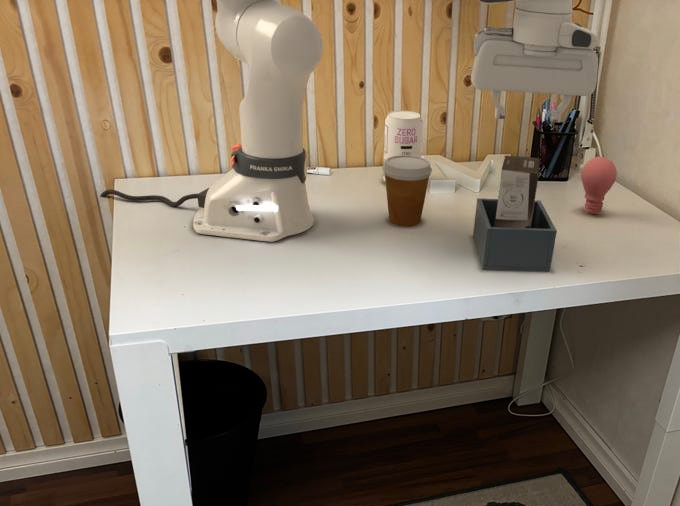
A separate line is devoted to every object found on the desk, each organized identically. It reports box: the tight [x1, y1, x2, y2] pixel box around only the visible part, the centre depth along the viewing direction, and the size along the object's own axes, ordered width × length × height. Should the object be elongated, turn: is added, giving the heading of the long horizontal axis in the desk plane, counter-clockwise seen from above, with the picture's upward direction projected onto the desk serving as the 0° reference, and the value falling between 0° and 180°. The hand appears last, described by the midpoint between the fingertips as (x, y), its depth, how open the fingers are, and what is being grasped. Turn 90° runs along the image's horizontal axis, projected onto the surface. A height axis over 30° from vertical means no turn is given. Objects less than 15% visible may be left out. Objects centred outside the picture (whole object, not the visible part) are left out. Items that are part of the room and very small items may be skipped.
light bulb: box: [580, 156, 618, 215], centre depth 152 cm, size 7×7×12 cm
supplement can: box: [382, 110, 424, 183], centre depth 161 cm, size 8×8×15 cm
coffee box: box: [494, 155, 541, 228], centre depth 131 cm, size 9×6×16 cm
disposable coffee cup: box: [382, 155, 433, 228], centre depth 143 cm, size 10×10×12 cm
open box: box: [472, 197, 558, 273], centre depth 134 cm, size 12×15×8 cm
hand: (527, 119), depth 123 cm, fingers open, 8 cm apart
